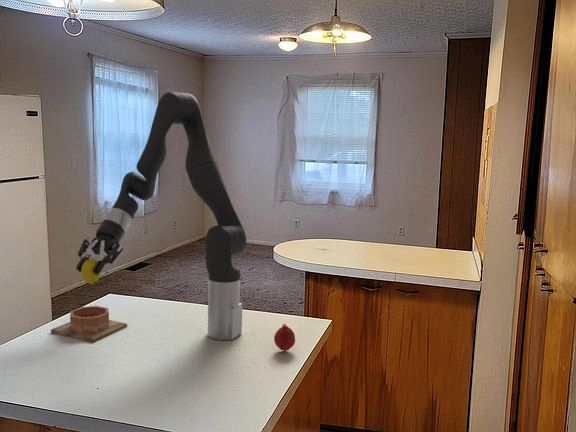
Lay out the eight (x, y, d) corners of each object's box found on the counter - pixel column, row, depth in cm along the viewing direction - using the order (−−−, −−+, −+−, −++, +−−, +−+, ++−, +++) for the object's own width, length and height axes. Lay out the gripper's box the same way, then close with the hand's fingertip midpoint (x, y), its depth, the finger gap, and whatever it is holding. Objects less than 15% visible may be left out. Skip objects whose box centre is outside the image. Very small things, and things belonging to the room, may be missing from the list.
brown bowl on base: (127, 326, 160) (127, 309, 159) (93, 342, 147) (93, 323, 146) (86, 318, 166) (86, 301, 165) (51, 332, 153) (50, 314, 152)
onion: (294, 347, 148) (295, 320, 147) (295, 355, 143) (296, 327, 142) (273, 347, 148) (274, 320, 147) (273, 355, 142) (274, 327, 141)
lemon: (80, 287, 152) (79, 260, 151) (82, 282, 158) (82, 256, 156) (100, 286, 154) (99, 259, 153) (102, 281, 159) (101, 255, 158)
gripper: (89, 216, 163) (60, 262, 153) (126, 220, 157) (98, 268, 148) (102, 231, 168) (75, 275, 159) (138, 235, 162) (112, 282, 153)
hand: (86, 271), depth 153 cm, fingers closed on lemon, 5 cm apart
